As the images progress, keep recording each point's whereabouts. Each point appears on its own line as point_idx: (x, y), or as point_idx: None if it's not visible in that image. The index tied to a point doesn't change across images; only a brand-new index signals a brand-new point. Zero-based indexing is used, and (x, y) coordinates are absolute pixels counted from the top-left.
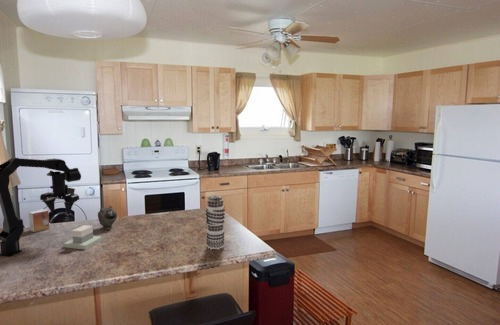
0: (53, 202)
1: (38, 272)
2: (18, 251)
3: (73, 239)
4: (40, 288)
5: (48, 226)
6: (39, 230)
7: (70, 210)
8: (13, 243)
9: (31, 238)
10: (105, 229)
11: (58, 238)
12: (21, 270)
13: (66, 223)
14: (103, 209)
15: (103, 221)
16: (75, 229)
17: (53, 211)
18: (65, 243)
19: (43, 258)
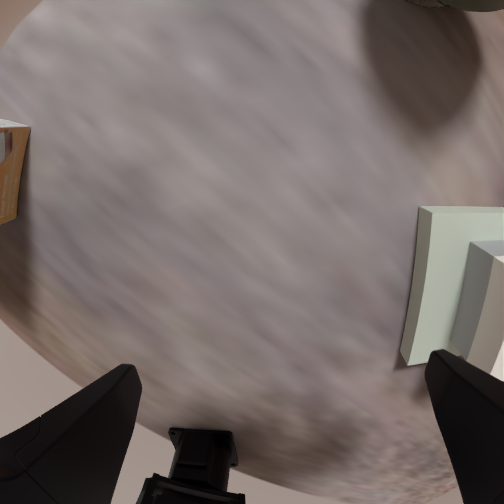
0: (32, 491)
1: (423, 472)
2: (230, 444)
3: (461, 349)
4: None
5: (18, 133)
6: (17, 188)
7: (483, 377)
8: (226, 488)
9: (91, 300)
10: (434, 7)
11: (251, 253)
12: (369, 485)
13: (52, 6)
14: None
15: (484, 11)
16: (497, 369)
17: (129, 391)
18: (417, 363)
19: (382, 440)
